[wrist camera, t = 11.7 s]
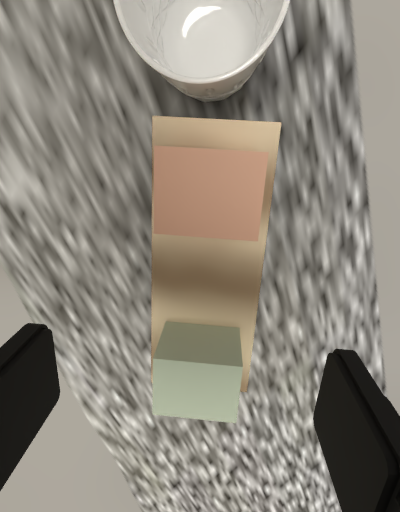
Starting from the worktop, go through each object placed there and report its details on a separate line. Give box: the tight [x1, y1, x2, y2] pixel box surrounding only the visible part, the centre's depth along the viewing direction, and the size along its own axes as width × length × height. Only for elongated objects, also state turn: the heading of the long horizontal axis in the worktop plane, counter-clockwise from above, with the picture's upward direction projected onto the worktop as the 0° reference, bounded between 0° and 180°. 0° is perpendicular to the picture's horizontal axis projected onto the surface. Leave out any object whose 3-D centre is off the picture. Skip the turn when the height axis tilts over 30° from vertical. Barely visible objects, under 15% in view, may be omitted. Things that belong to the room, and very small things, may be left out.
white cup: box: [113, 0, 290, 102], centre depth 18 cm, size 8×8×10 cm
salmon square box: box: [153, 146, 269, 241], centre depth 16 cm, size 4×5×4 cm
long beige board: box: [151, 116, 281, 392], centre depth 22 cm, size 18×7×5 cm, turn 177°
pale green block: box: [152, 321, 243, 423], centre depth 20 cm, size 4×5×4 cm
